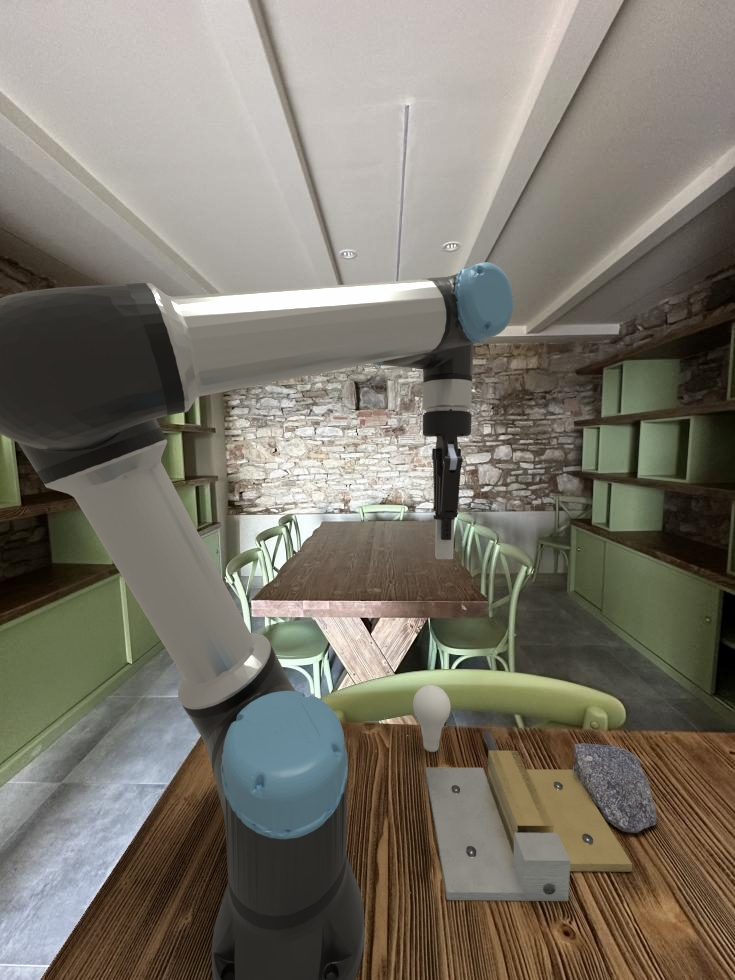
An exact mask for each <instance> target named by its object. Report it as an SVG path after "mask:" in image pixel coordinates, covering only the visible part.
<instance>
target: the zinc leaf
mask: <svg viewBox="0 0 735 980" xmlns="http://www.w3.org/2000/svg"><path fill="white" fill-rule="evenodd" d="M482 736H483V739H484V742H485V745H486V746H487V747H486V748H487V750H488V751H499V750H498V747H497V744H496V742H495V740H494V737H493V735H492V732H490V730H485V731H483V733H482ZM425 778H426V779H425V780H426V783H427V784H426V785H427V788H428V796H429V801H430V806H431V808H430V809H431V814H432V820H433V825H434V831H435V837H436V843H437V849H438V855H439V862H440V867H441V872H442V880H443V885H444V890H445V897H446V901H492V902H493V901H495V902H496V901H500V902H503V901H504V902H505V901H506V902H508V901H509V902H511V901H513V902H514V901H515V902H517V901H519V902H520V901H521V902H569V896H570V894H569V893H570V891H569V890H570V875H571V873H570V872H571V871H570V859H569V857H568V855H567V852H566V850H565V848H564V846H563V844H562V842H561V840H560V838H559V836H558V834H557V833H514V855H513V852H512V849H511V846H510V843H509V840H508V838H507V835H506V832H505V829H504V826H503V823H502V820H501V818H500V815H499V812H498V809H497V806H496V803H495V800H494V798H493V795H492V792H491V789H490V786H489V783H488V777H487V776H486V773H485V769H484V768H483V767H445V766H444V767H440V766H439V767H437V766H436V767H433V766H432V767H431V766H429V767H428V766H426V767H425Z"/></svg>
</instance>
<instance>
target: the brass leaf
mask: <svg viewBox="0 0 735 980" xmlns="http://www.w3.org/2000/svg"><path fill="white" fill-rule="evenodd" d="M487 753H488V754H487V755H488V756H487V757H488V758H487V781H488V784H489V787H490V790H491V793H492V795H493V798H494V801H495V804H496V807H497V810H498V813H499V815H500V818H501V821H502V824H503V827H504V830H505V833H506V835H507V838H508V841H509V844H510V847H511V850H512V853H513V855H514V833H557V834H558V836H559V838H560V840H561V842H562V844H563V846H564V848H565V850H566V852H567V855H568V857H569V859H570V872H609V873H610V872H614V873H615V872H618V873H619V872H621V873H623V872H625V873H627V872H630V873H631V872H632V871H633V863H632V861H631V860H630V858H629V857H628V855H627V853H626V852H625V850H624V849H623V847H622V845H621V843H620V841H618V839H617V837H616V835H615V834H614V833H613V831H612V830H611V827H610V826H609V824H608V822H607V820H606V819H605V818H604V817H603V815H602V812H601V811H600V809H598V807H597V806H596V805H595V804H594V802H593V801H592V799H591V797H590V796H589V794H588V793H587V791H586V789H585V788H584V786H583V785H582V783H581V781H580V780H579V778H578V777H577V775H576V774H575V772H574V770H573V769H545V768H544V769H539V768H538V769H534V768H533V769H527V768H526V766H525V764H524V762H523V760H522V757H521V756H520V753H519V751H518V750H498V751H489V750H488V751H487Z"/></svg>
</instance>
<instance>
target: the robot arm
mask: <svg viewBox="0 0 735 980" xmlns="http://www.w3.org/2000/svg"><path fill="white" fill-rule="evenodd" d="M512 291H513V288H512V285H511V283H510V280H509V278H508V275H507V274H506V273H505V272H504V271H503V269H501V268H500V267H499V266H498V265H496V264H493V263H492V262H489V261H488V262H487V261H486V262H485V261H484V262H479V263H477V264H474V265H471V266H468V267H463V268H461V269H460V270H459V271H458V272H457V273H456V274H453V275H449V276H440V277H438V276H437V277H429V278H421V279H408V280H407V279H406V280H405V279H404V280H396V281H395V280H392V281H379V282H376V281H375V282H365V283H362V282H361V283H349V284H336V285H320V286H307V287H306V286H305V287H292V288H291V287H290V288H278V289H277V288H276V289H266V290H252V291H251V290H250V291H249V290H248V291H236V292H235V291H233V292H221V293H207V294H194V295H193V294H192V295H179V296H177V295H176V296H170V295H168V294H166V293H165V292H163V291H162V290H161V289H159V288H158V287H157V286H155V285H154V284H153V283H151V282H139V283H138V282H137V283H121V284H120V283H119V284H118V283H117V284H102V285H85V286H67V287H66V286H65V287H64V286H63V287H53V288H47V289H39V290H38V289H37V290H28V291H22V292H17V293H13V294H9V295H5V296H3V297H0V435H1V436H4V437H5V438H7V439H9V440H12V441H13V442H17V443H18V445H19V447H20V449H21V450H22V452H23V453H24V455H25V456H26V458H27V459H28V461H29V462H30V464H31V466H32V467H33V469H34V471H35V472H36V474H37V475H38V476H39V479H40V480H41V481H42V483H43V484H44V486H45V487H46V489H50V490H54V491H57V492H62V493H64V494H68V495H69V496H72V497H73V498H74V500H75V501H76V502H77V505H78V506H79V507H80V509H81V511H82V512H83V514H84V516H85V518H86V519H87V520H88V522H89V524H90V526H91V528H92V529H93V531H94V533H95V534H96V536H97V538H98V539H99V541H100V542H101V544H102V546H103V547H104V548H105V551H106V553H107V554H108V555H109V557H110V560H112V562H113V563H114V566H115V567H116V569H117V570H118V572H119V573H120V575H121V578H123V581H124V582H125V584H126V586H127V587H128V588H129V590H130V592H131V594H132V595H133V597H134V599H135V600H136V602H137V603H138V605H139V607H140V608H141V610H142V611H143V613H144V615H145V616H146V618H147V621H149V623H150V625H151V626H152V629H154V632H155V634H156V635H157V636H158V638H159V639H160V641H161V643H162V644H163V646H164V648H165V649H166V652H167V653H168V655H169V656H170V658H171V660H172V661H173V662H174V665H175V666H176V668H177V669H178V671H179V673H180V674H181V676H182V679H181V681H180V684H179V687H178V688H177V689H178V690H177V697H178V701H179V702H180V705H181V706H182V707H183V709H184V710H185V712H186V714H187V716H188V717H189V718H190V720H191V722H192V724H193V725H194V726H195V728H196V730H197V732H198V733H199V735H200V737H201V738H202V741H203V743H204V745H205V748H206V750H207V754H208V757H209V761H210V765H211V769H212V774H213V777H214V781H215V785H216V788H217V793H218V797H219V800H220V804H221V807H222V813H223V819H224V826H225V827H224V828H225V839H226V840H225V841H226V842H225V843H226V844H225V845H226V860H227V861H226V862H227V885H226V888H225V891H224V894H223V897H222V900H221V904H220V906H219V910H218V913H217V917H216V920H215V925H214V928H213V933H212V934H213V935H212V940H211V941H212V943H211V970H212V971H211V972H212V973H211V974H212V980H356V978H357V975H358V973H359V969H360V966H361V962H362V958H363V952H364V947H365V946H364V945H365V911H364V902H363V898H362V894H361V889H360V886H359V884H358V882H357V881H358V880H357V879H356V876H355V874H354V871H353V868H352V865H351V863H350V861H349V859H348V856H347V846H348V845H347V842H348V841H347V834H348V833H347V830H348V829H347V823H348V822H347V780H348V774H349V772H348V771H349V769H348V767H349V763H348V752H347V748H346V741H345V734H344V729H343V726H342V723H341V720H340V718H339V717H338V715H337V713H336V712H335V711H334V710H333V708H332V707H331V706H329V704H328V703H326V702H325V701H324V700H322V699H321V698H319V697H317V696H315V695H312V694H311V695H309V696H308V697H307V696H306V695H305V693H304V692H303V691H297V690H296V689H295V687H294V686H293V684H292V682H291V681H290V680H289V677H288V675H287V674H286V672H285V670H284V667H283V666H282V663H281V662H280V660H279V657H278V656H277V654H276V652H275V650H274V648H273V647H272V644H271V642H270V640H269V639H268V637H267V636H265V635H263V634H261V633H255V632H250V631H251V630H249V628H248V625H247V624H246V622H245V620H244V618H243V616H242V615H241V613H240V610H239V609H238V606H237V604H236V603H235V600H234V599H233V598H232V597H233V596H232V594H231V593H230V591H229V590H228V588H227V585H226V584H225V582H224V580H223V578H222V576H221V574H220V572H219V570H218V569H217V566H216V564H215V563H214V561H213V559H212V557H211V555H210V553H209V551H208V550H207V547H206V545H205V544H204V541H203V539H202V538H201V536H200V534H199V532H198V530H197V528H196V526H195V524H194V522H193V521H192V519H191V517H190V514H189V512H188V511H187V509H186V507H185V505H184V503H183V501H182V499H181V498H180V495H179V494H178V492H177V490H176V488H175V486H174V484H173V481H172V480H171V478H170V476H169V475H168V472H167V470H166V468H165V467H164V464H163V463H162V456H163V453H164V452H165V449H166V446H167V445H168V440H167V438H166V436H165V434H164V432H163V430H162V428H161V426H160V424H159V421H157V420H158V419H159V418H164V417H167V416H168V417H169V416H173V415H178V414H182V413H183V414H184V413H187V412H189V410H190V409H191V407H192V405H194V402H195V401H196V400H197V399H198V398H199V397H203V396H208V395H215V394H219V393H225V392H230V391H235V390H240V389H245V388H250V387H255V386H260V385H265V384H273V383H277V382H282V381H286V380H291V379H297V378H302V377H303V378H304V377H307V376H313V375H317V374H323V373H328V372H329V373H330V372H333V371H340V370H344V369H349V368H355V367H359V366H363V365H370V364H373V365H377V366H378V367H379V366H380V367H381V366H389V367H398V368H404V369H405V368H406V369H407V368H408V369H414V370H415V369H416V370H422V377H423V381H422V382H423V383H422V408H423V410H426V412H424V413H423V414H422V435H423V436H425V437H428V438H430V437H431V438H432V437H433V438H435V437H436V441H435V447H434V448H432V449H431V450H432V451H431V460H432V467H433V468H432V471H433V477H432V478H433V509H432V510H433V511H434V515H433V520H434V521H435V533H434V534H435V536H434V537H435V540H434V541H435V542H434V543H435V544H434V549H435V550H434V557H435V559H436V560H454V544H455V543H454V540H455V518H458V514H459V512H458V511H459V508H458V507H459V498H460V497H459V495H460V483H461V471H462V465H463V463H464V459H463V456H462V448H459V443H458V441H459V440H458V437H459V438H460V437H468V436H470V435H471V434H472V417H473V416H472V413H471V412H470V411H468V410H469V409H471V408H472V399H473V398H472V397H473V396H475V395H476V389H473V388H472V387H473V369H474V368H473V367H474V365H473V364H474V363H473V362H474V346H475V345H474V344H477V343H483V342H484V341H486V340H489V339H491V338H492V337H495V336H498V335H499V334H501V333H502V332H504V330H505V329H506V328H507V327H508V326H509V324H510V321H511V319H512V316H513V314H514V313H513V312H514V306H515V305H514V304H515V303H514V298H513V292H512Z"/></svg>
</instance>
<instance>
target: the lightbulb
mask: <svg viewBox="0 0 735 980" xmlns="http://www.w3.org/2000/svg"><path fill="white" fill-rule="evenodd" d="M412 701H413V702H412V709H413V713H414V715H415V716H416V719H417V721H418V722H419V725H420V728H421V729H420V730H421V736H422V744H423V748H424V750H426V751H427V752H430V753H434V752H437V751H438V750H439V747H440V746H439V745H440V739H441V737H442V729H443V727H444V725H445V723H447V720H448V719H449V717H450V715H451V701H450V698H449V695H448V694H447V693H446V691H444V689H443V688H441V687H439V686H438V685H433V684H427V685H424V686H421V687H420V688H419V689H418V690H417V691H416V693H415V695H414V697H413V700H412Z"/></svg>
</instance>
